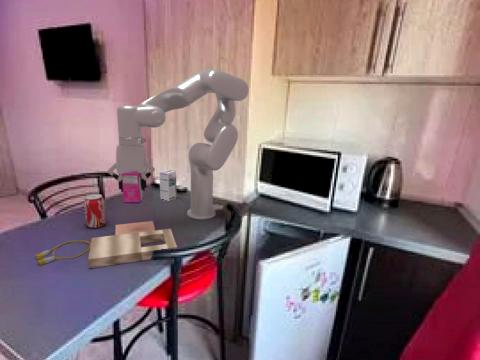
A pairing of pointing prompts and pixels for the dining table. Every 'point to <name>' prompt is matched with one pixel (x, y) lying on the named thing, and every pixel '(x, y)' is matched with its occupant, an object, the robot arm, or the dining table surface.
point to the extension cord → (50, 259)
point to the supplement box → (132, 188)
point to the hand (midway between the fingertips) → (132, 190)
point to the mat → (134, 228)
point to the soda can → (94, 210)
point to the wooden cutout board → (127, 247)
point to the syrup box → (168, 185)
